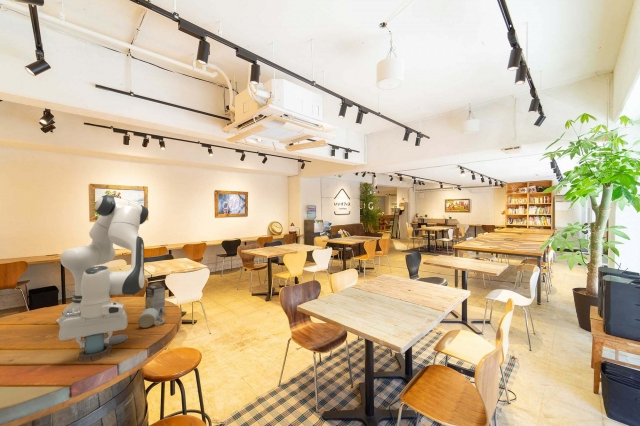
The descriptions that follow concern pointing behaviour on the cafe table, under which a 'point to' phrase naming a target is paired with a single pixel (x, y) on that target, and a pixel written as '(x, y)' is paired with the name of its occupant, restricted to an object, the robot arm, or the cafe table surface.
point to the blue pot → (94, 343)
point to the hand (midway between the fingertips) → (94, 345)
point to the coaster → (117, 339)
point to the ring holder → (96, 356)
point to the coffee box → (156, 298)
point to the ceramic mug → (149, 318)
